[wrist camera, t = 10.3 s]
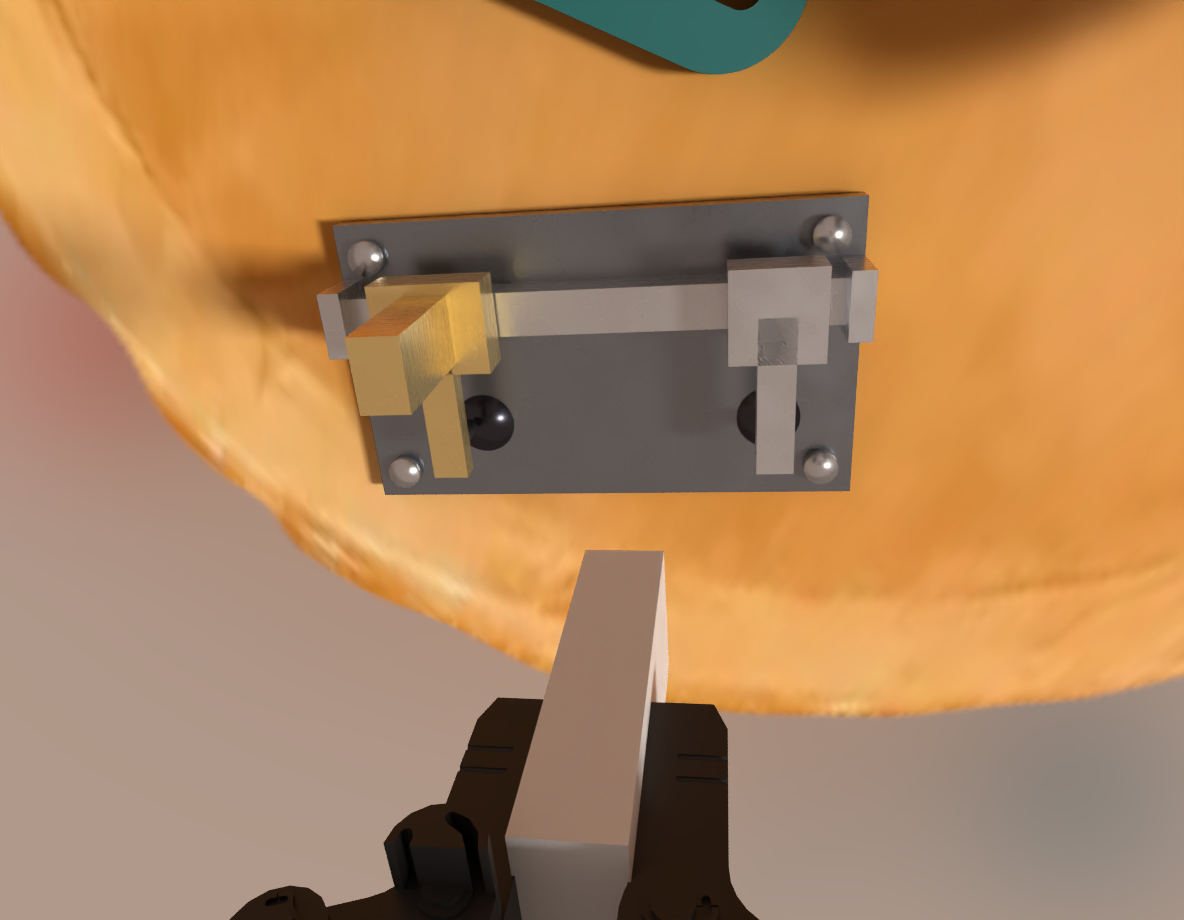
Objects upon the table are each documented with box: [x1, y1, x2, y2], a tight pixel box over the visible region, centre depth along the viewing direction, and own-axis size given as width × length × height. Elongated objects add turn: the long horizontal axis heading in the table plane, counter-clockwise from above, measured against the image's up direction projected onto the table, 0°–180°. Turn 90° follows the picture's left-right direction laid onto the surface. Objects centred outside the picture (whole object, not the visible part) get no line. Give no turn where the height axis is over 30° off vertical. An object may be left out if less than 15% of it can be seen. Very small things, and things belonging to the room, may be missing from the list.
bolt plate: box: [332, 192, 869, 495], centre depth 40 cm, size 14×24×2 cm, turn 94°
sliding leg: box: [344, 272, 501, 478], centre depth 35 cm, size 9×5×10 cm, turn 4°
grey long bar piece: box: [316, 255, 878, 474], centre depth 37 cm, size 9×24×4 cm, turn 94°
